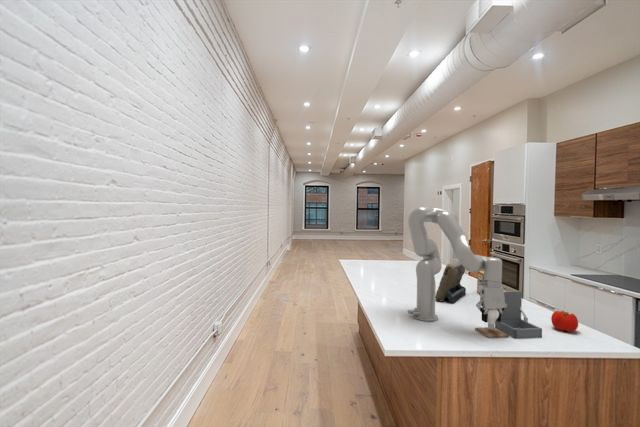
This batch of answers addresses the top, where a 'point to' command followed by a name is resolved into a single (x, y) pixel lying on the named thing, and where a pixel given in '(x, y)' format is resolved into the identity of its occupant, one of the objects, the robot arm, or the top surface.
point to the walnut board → (491, 333)
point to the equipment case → (516, 318)
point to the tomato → (564, 321)
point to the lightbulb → (492, 317)
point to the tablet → (451, 283)
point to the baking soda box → (480, 281)
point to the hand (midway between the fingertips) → (491, 320)
